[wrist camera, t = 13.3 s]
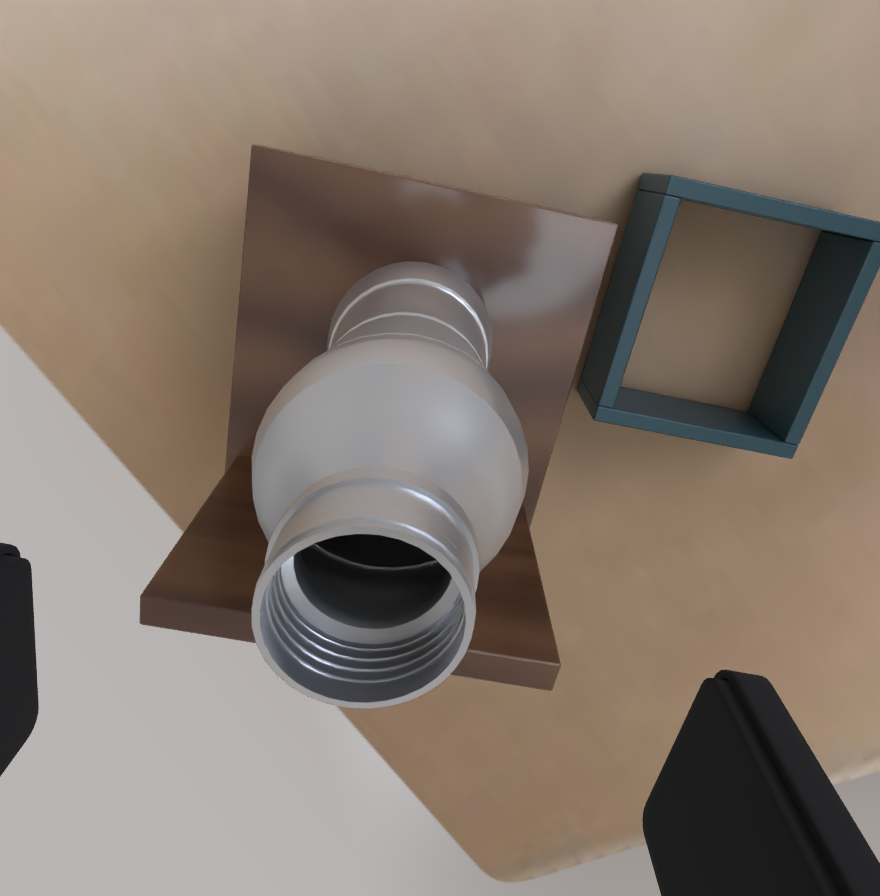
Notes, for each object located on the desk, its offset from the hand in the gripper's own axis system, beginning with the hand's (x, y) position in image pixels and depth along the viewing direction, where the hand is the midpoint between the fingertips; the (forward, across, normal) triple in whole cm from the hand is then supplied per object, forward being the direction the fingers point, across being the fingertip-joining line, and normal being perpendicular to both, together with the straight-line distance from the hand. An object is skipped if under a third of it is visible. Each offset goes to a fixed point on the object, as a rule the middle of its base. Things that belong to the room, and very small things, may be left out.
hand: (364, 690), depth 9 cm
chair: (+28, 0, +2) cm, 29 cm away
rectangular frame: (+29, -14, -2) cm, 32 cm away
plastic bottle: (+22, 0, 0) cm, 22 cm away
